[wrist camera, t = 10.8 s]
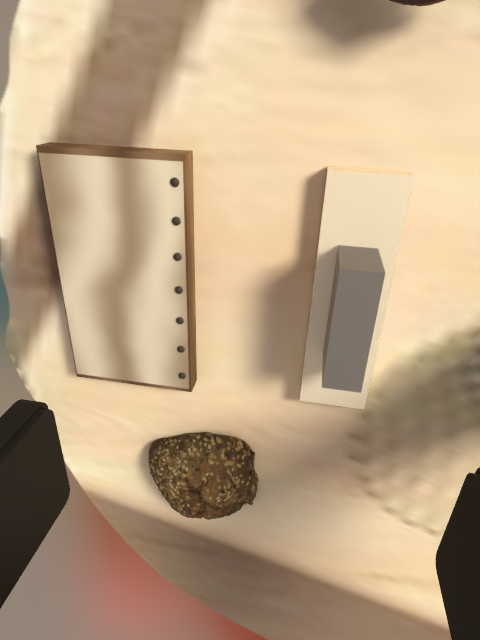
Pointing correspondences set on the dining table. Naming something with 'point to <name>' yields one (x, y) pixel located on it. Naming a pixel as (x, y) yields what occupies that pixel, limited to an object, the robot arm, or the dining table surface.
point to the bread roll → (204, 474)
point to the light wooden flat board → (125, 260)
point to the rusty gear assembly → (417, 2)
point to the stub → (352, 281)
